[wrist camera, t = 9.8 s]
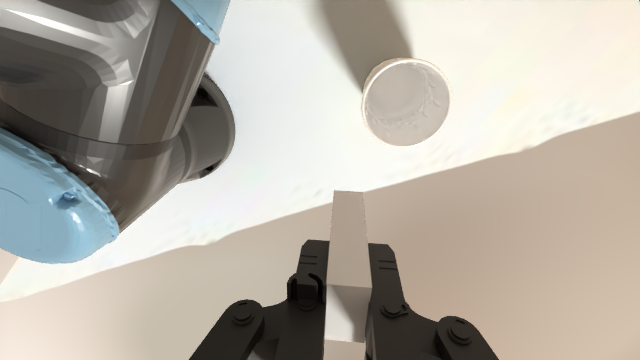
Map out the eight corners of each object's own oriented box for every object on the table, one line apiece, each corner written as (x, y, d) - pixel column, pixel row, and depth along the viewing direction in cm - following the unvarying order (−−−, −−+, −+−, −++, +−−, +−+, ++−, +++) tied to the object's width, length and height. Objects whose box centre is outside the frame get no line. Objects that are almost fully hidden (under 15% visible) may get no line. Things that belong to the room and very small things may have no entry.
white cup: (384, 38, 34) (396, 39, 25) (441, 76, 35) (472, 90, 26) (346, 100, 37) (344, 120, 28) (399, 132, 38) (414, 162, 29)
